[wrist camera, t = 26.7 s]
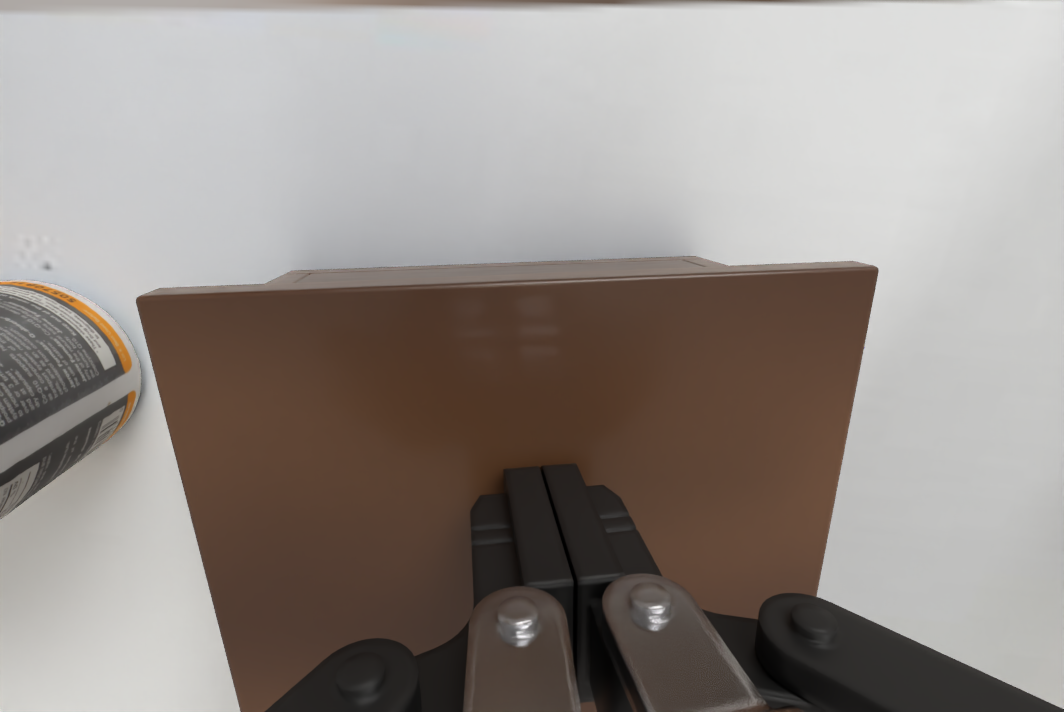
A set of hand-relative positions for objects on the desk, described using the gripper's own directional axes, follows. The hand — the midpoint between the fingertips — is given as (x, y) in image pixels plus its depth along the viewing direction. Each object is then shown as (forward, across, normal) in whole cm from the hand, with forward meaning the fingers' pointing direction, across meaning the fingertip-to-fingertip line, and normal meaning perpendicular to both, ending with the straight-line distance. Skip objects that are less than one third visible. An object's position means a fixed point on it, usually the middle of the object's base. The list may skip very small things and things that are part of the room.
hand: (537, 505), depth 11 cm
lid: (+1, 0, +3) cm, 4 cm away
